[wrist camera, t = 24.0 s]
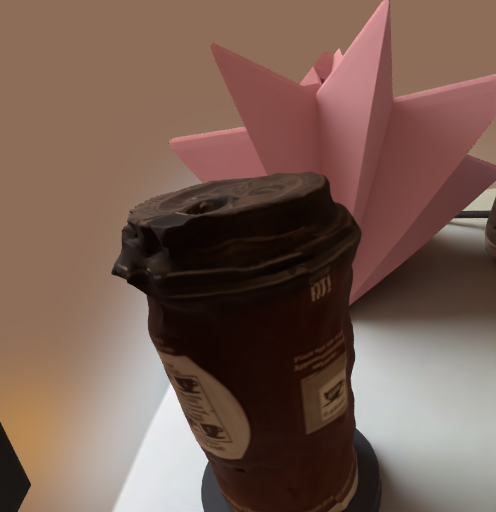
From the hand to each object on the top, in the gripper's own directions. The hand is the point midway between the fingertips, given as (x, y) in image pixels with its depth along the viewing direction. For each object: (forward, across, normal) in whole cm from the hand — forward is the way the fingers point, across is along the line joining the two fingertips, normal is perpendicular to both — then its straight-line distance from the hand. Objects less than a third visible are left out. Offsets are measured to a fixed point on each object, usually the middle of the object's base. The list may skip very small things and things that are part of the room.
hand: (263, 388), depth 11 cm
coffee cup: (+6, 0, -9) cm, 11 cm away
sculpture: (+38, -2, -5) cm, 38 cm away
